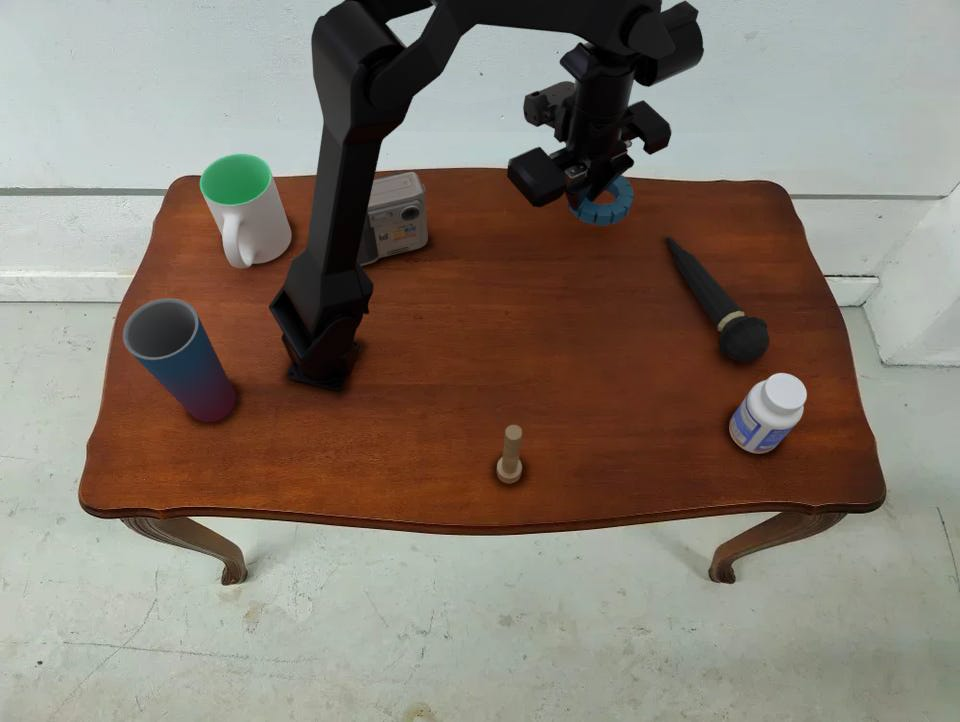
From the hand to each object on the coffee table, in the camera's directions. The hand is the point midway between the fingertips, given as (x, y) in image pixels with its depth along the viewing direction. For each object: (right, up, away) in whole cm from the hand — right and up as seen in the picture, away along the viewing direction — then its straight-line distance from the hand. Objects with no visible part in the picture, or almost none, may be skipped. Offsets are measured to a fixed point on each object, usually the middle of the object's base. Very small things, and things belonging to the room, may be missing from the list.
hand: (580, 204), depth 85 cm
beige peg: (-9, -30, -11) cm, 34 cm away
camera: (-24, -4, +4) cm, 25 cm away
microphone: (+16, -12, 0) cm, 20 cm away
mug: (-40, -5, +3) cm, 41 cm away
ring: (+3, +1, +2) cm, 3 cm away
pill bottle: (+18, -27, -8) cm, 33 cm away
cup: (-42, -23, -7) cm, 48 cm away
